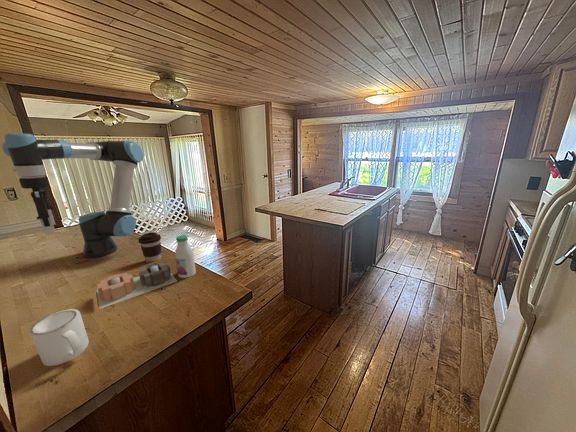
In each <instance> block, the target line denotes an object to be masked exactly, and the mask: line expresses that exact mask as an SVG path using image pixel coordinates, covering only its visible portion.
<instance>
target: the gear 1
mask: <svg viewBox="0 0 576 432" xmlns="http://www.w3.org/2000/svg"><path fill="white" fill-rule="evenodd" d="M114 277H119V278H120V283H117V284H114V285H111V281H110V280H111V279H112V278H114ZM133 278H134V277H133V273H132V274H131V273H129V274H128V272H124V273H121V274H120V273H117V274H114V275H110V276H107V278H105V279H104V278H103V279H102V280H101V279H100V282H99V283H96V286H97V288H96V289H98V292H99V295H100V299H101V300H102V299H105V302H106V301H109V300H112V299H114V300H117V299H120V298H122V297H125V296H126V295H127V294H129V293H132V292H133V290H132V289H135V284H134V280H133ZM109 289H110V290H109ZM126 292H127V293H126ZM110 293H111V294H110ZM111 297H112V298H111Z"/></svg>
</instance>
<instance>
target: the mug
mask: <svg viewBox="0 0 576 432" xmlns="http://www.w3.org/2000/svg"><path fill="white" fill-rule="evenodd" d="M83 321H84V320H83V318H82V315H81V311H80V310H78V309H75V308H67V309H63V310H58V311H56V312H53V313H51V314H47V315H46V316H45V317H43V318H41V319H39V320H38V321H37V322H35V323H34V324H33V325H32V327H30V331H29V333H30V336H31V338H32V340H33V344H34V346H35V348H36V350H37V353H38V356H39V358H40V360H41V363H42V364H43V366H47V367H55V366H59V365H61V364H65V363H67V362H69V361H71V360H73V359H74V358H76V357H78V356H79V355H81V354H82V353H84V351H85V350H86V348H87V347H88V345H89V342H90V341H89V337H88V334H87V331H86V330H87V329H86V328H85V324H84V322H83Z"/></svg>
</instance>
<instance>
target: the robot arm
mask: <svg viewBox="0 0 576 432" xmlns="http://www.w3.org/2000/svg"><path fill="white" fill-rule="evenodd" d="M3 137H4V142H3V143H2V151H3V152H4V154H6V155H7V156H8V157H10V159H11V162H12V164H13V166H14V168H12V172H16V175H17V177H19V179H18V181H19V184H20V187H21V189H25V190H26V189H27V190H29V189H31V190H32V191H31V192H30V196H31V198H32V202H33V203H34V206H35V209H36V212H37V215H38V216H36V220H40V221H39V222H40V223H41V226H42V229H43V232H44V235H45V236H47V235H48V236H49V235H53V234H56V230H55V228H54V225H57V224H56V221H55V217H54V215H53V212H52V210H53V206H51V205H50V204H49V201H48V195H47V191H46V190H45V189H44V188H46V187H49V186H50V185H51V183H50V181H49V177H48V176H46V175H47V170H46V168H45V164H44V161H45V160H56V159H57V160H58V159H59V160H60V159H62V160H63V159H90V160H92V161H103V162H111V163H112V164H113V165H114V175H113V180H112V181H113V182H112V183H113V184H112V188H111V189H112V190H111V197H110V198H111V199H110V205H109V208H107V210H105V211H103V210H102V211H95V212H90V213H85V214H82V215H80V216H79V217H78V222H79V223H78V224H79V227H80V231H81V235H82V237H83V238H82V239H83V242H84V245H83V250H82V253H83V257H85V258H89V259H90V258H91V259H92V258H93V259H94V258H100V257H101V258H102V257H104V256H107V255H110V254H113V253H114V252H116V251H117V250H118V246H117V243H116V242H115V240H114V239H113V238H112V237H119V238H121V237H127V236H130V235H131V234H132V233H133V232H134V231H135V229H136V226H137V221H136V218H135V217H134V216H133V212H132V211H131V210H130V205H131V196H132V187H133V179H134V178H133V177H134V170H135V169H136V168H138V163H141V162H142V161H143V160H144V152H143V149H142V148H141V146H140V144H139V143H137V142H136V141H131V140H106V141H105V140H104V141H88V142H86V143H83V142H67V140H64V139H37V138H36V137H35V135H34V134H32V133H15V132H13V133H11V132H10V133H5V134H4V136H3Z"/></svg>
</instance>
